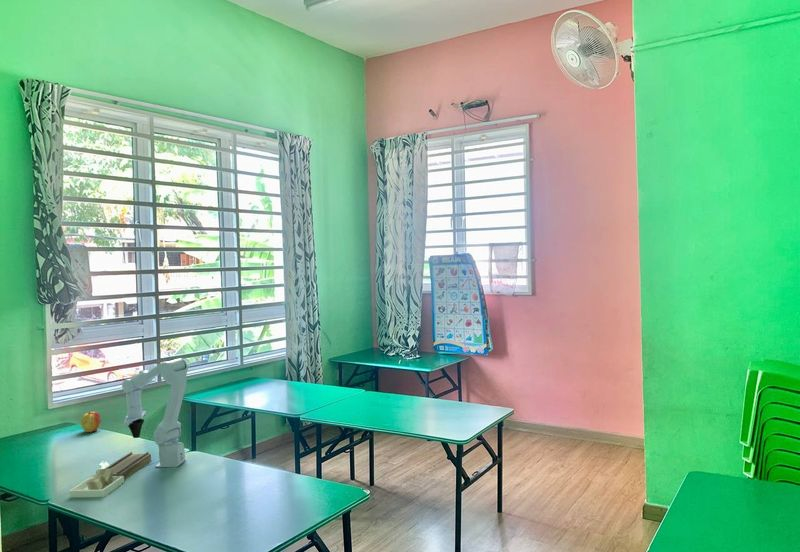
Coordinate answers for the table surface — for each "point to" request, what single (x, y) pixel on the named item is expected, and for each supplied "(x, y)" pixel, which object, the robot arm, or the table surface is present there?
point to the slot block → (129, 464)
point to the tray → (83, 490)
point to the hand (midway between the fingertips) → (136, 437)
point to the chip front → (95, 482)
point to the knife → (103, 465)
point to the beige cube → (105, 475)
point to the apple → (90, 421)
